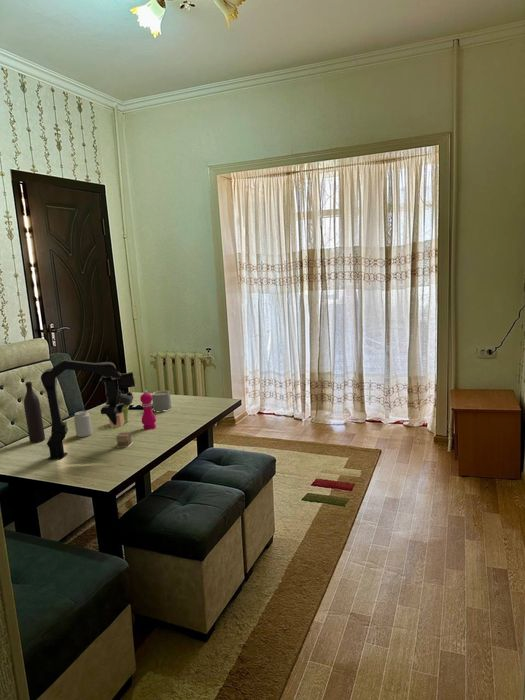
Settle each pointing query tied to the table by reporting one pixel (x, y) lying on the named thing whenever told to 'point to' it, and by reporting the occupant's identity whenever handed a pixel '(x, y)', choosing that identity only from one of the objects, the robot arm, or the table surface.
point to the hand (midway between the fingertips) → (117, 422)
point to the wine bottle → (33, 415)
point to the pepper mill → (147, 411)
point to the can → (82, 424)
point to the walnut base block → (124, 439)
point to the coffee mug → (161, 400)
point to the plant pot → (125, 412)
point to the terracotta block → (118, 420)
